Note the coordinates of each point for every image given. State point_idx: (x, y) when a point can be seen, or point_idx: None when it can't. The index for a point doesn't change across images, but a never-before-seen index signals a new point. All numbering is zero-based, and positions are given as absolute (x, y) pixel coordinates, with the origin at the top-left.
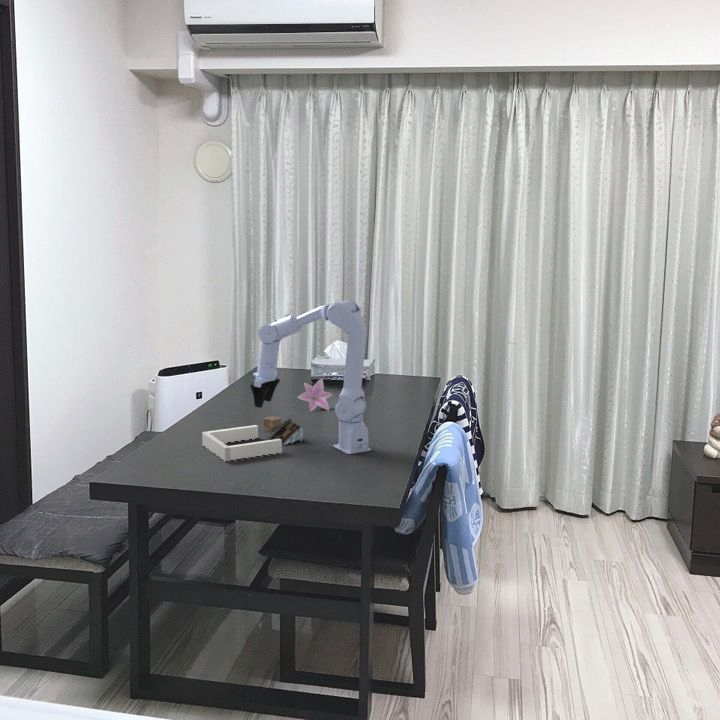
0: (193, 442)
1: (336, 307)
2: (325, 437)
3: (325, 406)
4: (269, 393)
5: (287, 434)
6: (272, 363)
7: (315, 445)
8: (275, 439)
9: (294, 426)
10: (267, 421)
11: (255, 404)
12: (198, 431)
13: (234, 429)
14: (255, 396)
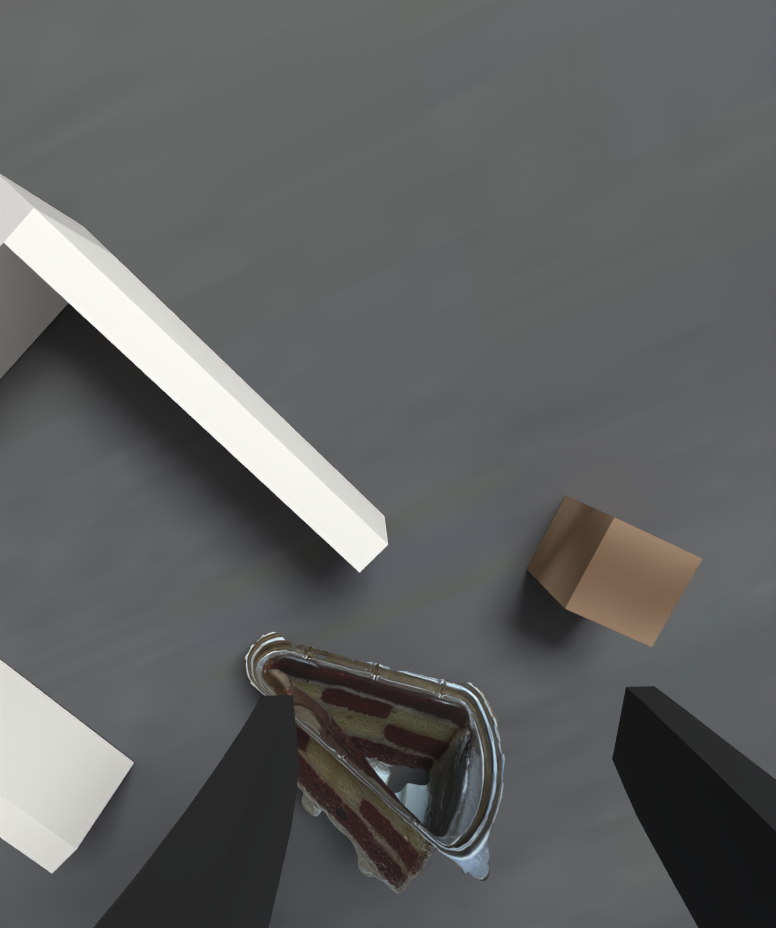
0: (124, 123)
1: None
2: (497, 885)
3: None
4: (711, 892)
5: (325, 782)
6: None
7: (326, 889)
8: (45, 831)
9: (394, 849)
10: (582, 553)
11: (246, 732)
12: (418, 21)
13: (201, 424)
14: (172, 897)
